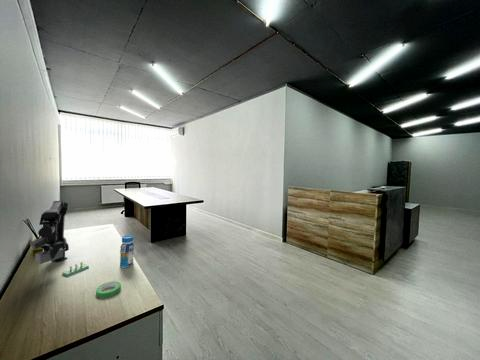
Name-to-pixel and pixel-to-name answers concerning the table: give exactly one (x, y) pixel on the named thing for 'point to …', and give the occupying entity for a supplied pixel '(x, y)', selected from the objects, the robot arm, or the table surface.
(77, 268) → the green peg board
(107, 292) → the tape roll
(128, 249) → the beverage bottle
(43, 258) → the block
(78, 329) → the table surface
